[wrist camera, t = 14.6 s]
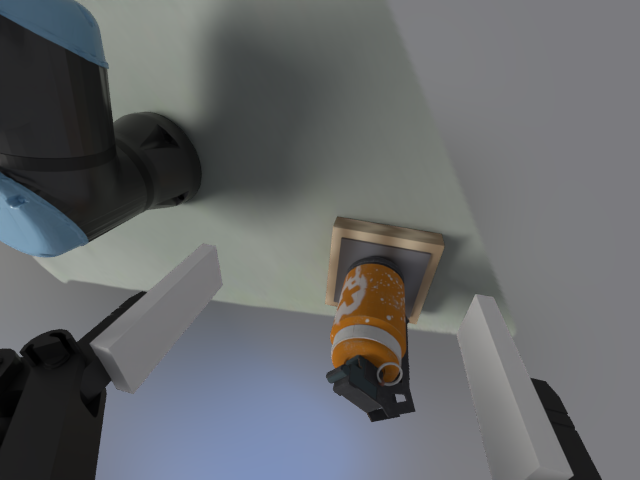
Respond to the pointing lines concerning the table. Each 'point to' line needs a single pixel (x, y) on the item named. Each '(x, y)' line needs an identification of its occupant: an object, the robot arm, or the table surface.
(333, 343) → the canister
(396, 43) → the table surface
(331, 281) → the plinth
